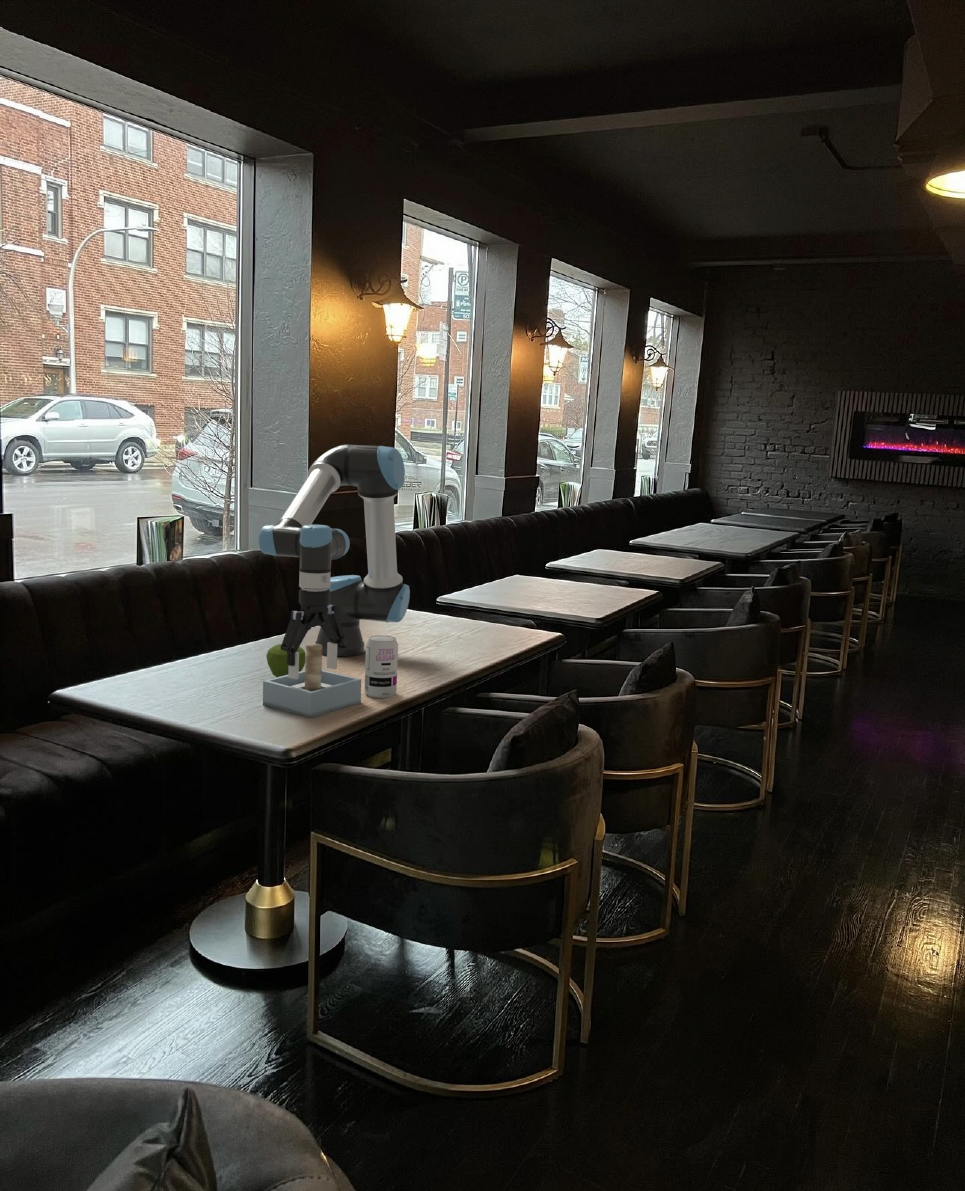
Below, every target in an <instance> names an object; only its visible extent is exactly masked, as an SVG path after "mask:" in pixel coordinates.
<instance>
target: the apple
mask: <svg viewBox="0 0 965 1191" xmlns="http://www.w3.org/2000/svg"><path fill="white" fill-rule="evenodd" d="M281 645H282V643H281V644H279V643H278V644H276V645H274V646H272V647H271V648H269V649H268V650H267V651H266V652H267V653H266V655H265V656H266V661H267V665H268V667H269V669H270V671H271V673H272V675H273V676H274V677H275V678H277V677H281V676H285V675H288V665H287V652H286V651H283V650H281ZM286 646H287V645H286ZM293 647H294V646H293ZM293 647H292V648H293ZM296 652H298V653H299V672H301V671H303V669H304V668H305V654H306V650H305V649H304V648H302V647H301V645H300V646H299V648H298V650H297V651H296Z"/></svg>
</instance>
